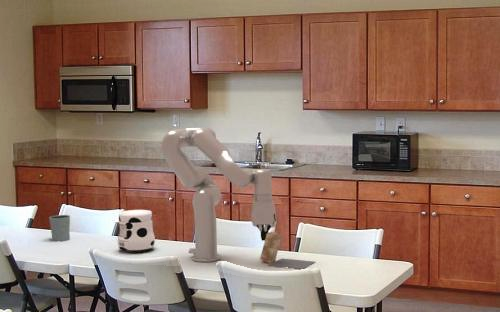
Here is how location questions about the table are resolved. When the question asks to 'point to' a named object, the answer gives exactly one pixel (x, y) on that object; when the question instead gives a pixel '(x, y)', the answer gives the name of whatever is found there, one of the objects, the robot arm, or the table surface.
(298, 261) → the charcoal mat
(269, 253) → the maple block
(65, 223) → the grey cup
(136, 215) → the milk container
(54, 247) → the table surface
